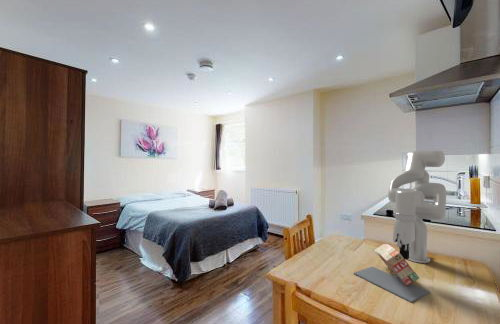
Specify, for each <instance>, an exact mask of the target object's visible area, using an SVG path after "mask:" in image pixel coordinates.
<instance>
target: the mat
mask: <svg viewBox="0 0 500 324" xmlns="http://www.w3.org/2000/svg"><path fill="white" fill-rule="evenodd" d="M353 275H355V276H356V277H358V278H361V279H363V280H365V281H367V282H369V283H371V284H373V285H374V286H376V287H379V288H381V289H382V290H385V291H386V292H389V293H391V294H393V295H395V296H397V297H399V298H401V299H403V300H405V301H407V302H409V303H411V304H412V303H414V302H416V301H418V300H419V299H421V298H423V297H425V296H427V295H429V294H430V293H431V291H430V290H427V288H426V289H425V288H423V287H421V286H418V285H416V284H414V283H413V282H412V283H411V284H409V285H408V286H406V285H405V284H404V283H403V282H402V281H401V280H400V278H399V277H398V276H397V275H396V276H395V275H393V274H391V273H388V272H386V271H385V270H381V269H379V268H377V267H375V266H369V267H366V268H364V269H363V268H362V269H361V270H358V271H355V272H353Z"/></svg>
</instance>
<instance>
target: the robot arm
mask: <svg viewBox="0 0 500 324" xmlns="http://www.w3.org/2000/svg"><path fill="white" fill-rule="evenodd" d="M405 159H406V160H405V165H404V166H405V167H404V170H403V172H401V173H399V174H398V175H397V176H395V177H394V178H393V179H392V180H391V182H390V185H389V189H388V193H387V197H388V201H389V202H390V203H394V204H395V212H394V213H395V216H394V217H395V218H394V220H395V221H394V223H393V224H394V225H393V230H392V231H393V233H392V242H394V243H396V247H398V250H399V253H400V254H401V255H402V257H403V258H404V259H405V260H406V261H411V262H414V263H419V264H428V263H430V262H431V258H430V257H429V256H428V253H429V252H430V251H429V249H428V226H427V225H426V223H425V222H424V220H429V221H430V220H431V221H435V222H441V221H443V220H445V217H446V208H447V189H446V186H445V185H444V184H442V183H438V182H430V174H429V172H428V171H427V170H426V168H440V167H442V166H443V165H444V164H445V161H446V155H445V153H444V152H443V150H413V151H409V152H408V153H406V156H405ZM408 184H409V188H402V186H404V185H408ZM400 187H401V188H400Z"/></svg>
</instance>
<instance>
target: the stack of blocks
mask: <svg viewBox="0 0 500 324" xmlns="http://www.w3.org/2000/svg"><path fill="white" fill-rule="evenodd" d="M373 250H374V252H375V254H377V256H378V257H379V258H380V260H382V262H383V263H384V264H385V265H386V267H388V269H390V270H391V272H392V273H393V274H395V275H396V277H398V278H400V280H401V281H402V282H403V283H404V284H405V285H406V286H408V285H409V284H411V283H412V284H413V282H416V281H417V280H419V279H420V277H419V275H418V274H417V273H416V272H415V271H414V269H413V268H412V267H411V266H410V264H409V263H408V262H407V260H405V259H404V258H403V257H402V255H401V254H400V251H398V250H397V249H396V248H394V247H393V246H391V245H390V244H388V243H383V244H382V245H380V246H378V247H377V248H375V249H373Z"/></svg>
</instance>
